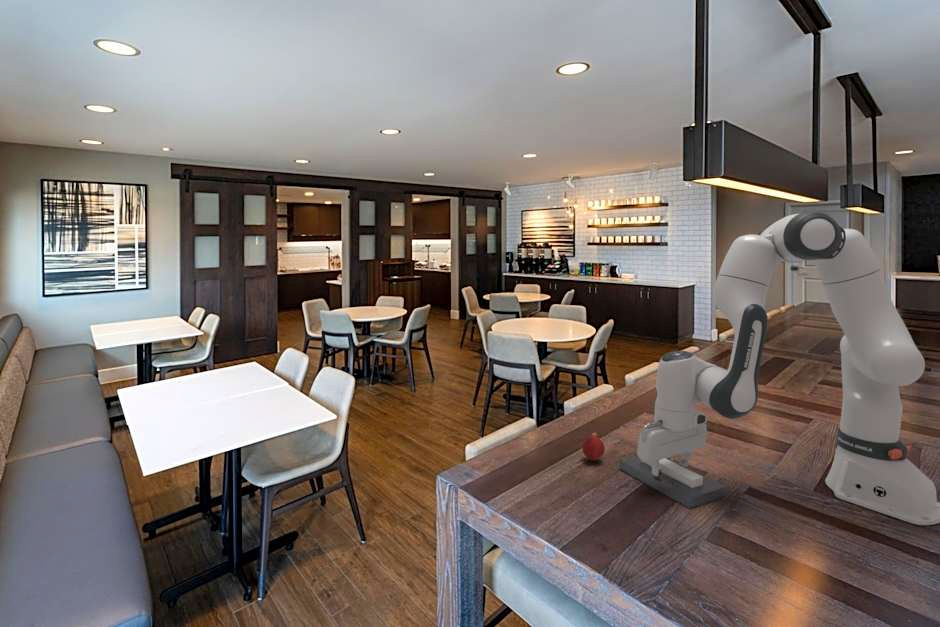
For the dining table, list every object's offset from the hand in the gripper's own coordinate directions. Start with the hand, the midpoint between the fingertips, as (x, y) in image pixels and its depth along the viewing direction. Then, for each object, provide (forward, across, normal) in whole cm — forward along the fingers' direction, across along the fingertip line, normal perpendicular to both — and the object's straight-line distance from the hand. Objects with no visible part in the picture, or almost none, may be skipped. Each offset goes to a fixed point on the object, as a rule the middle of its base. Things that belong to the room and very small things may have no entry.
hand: (670, 470), depth 125 cm
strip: (+2, 0, 0) cm, 3 cm away
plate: (+3, 0, 0) cm, 3 cm away
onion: (+3, -9, +18) cm, 20 cm away
